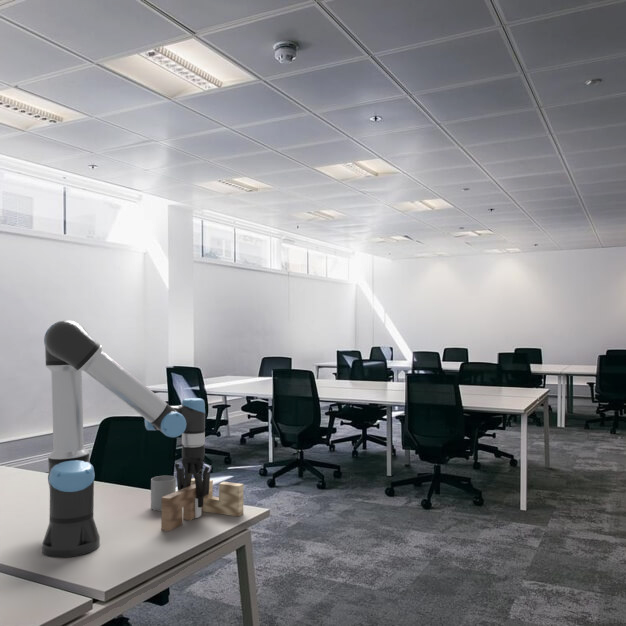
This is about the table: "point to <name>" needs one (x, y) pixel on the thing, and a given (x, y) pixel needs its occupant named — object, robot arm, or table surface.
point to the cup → (161, 490)
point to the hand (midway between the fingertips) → (193, 515)
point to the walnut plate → (178, 508)
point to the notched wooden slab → (224, 499)
